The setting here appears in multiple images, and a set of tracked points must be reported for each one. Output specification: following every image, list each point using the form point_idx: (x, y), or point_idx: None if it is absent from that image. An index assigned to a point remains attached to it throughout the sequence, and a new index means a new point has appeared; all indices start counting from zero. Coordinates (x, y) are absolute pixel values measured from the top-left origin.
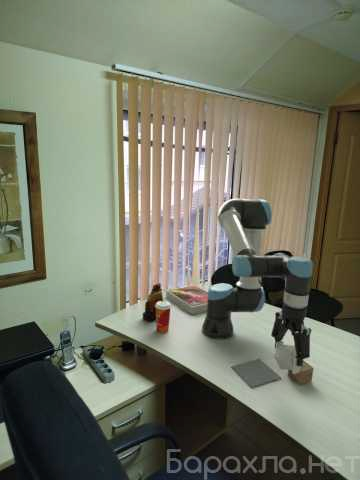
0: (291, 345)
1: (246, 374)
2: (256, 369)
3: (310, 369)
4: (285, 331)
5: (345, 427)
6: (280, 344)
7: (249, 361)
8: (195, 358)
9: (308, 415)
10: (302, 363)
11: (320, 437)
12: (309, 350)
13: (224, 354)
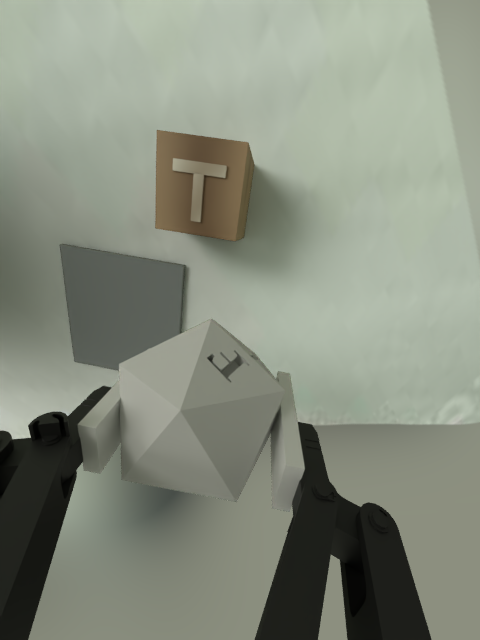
0: (167, 432)
1: (125, 353)
2: (113, 307)
3: (245, 171)
4: (11, 621)
5: (449, 287)
6: (122, 477)
7: (67, 293)
8: (17, 408)
9: (341, 338)
10: (318, 441)
11: (402, 378)
12: (421, 612)
13: (10, 329)
